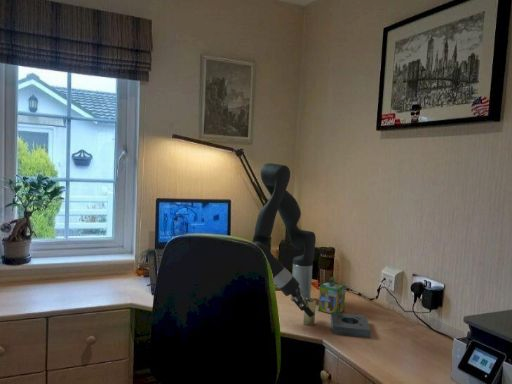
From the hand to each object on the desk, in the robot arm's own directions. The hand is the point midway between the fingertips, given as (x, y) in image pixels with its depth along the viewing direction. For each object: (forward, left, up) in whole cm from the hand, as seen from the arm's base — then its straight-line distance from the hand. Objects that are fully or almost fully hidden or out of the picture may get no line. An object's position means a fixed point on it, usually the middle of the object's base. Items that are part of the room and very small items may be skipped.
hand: (312, 312), depth 166 cm
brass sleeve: (0, -1, -5) cm, 5 cm away
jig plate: (0, +15, -5) cm, 16 cm away
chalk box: (-19, +9, -5) cm, 22 cm away
